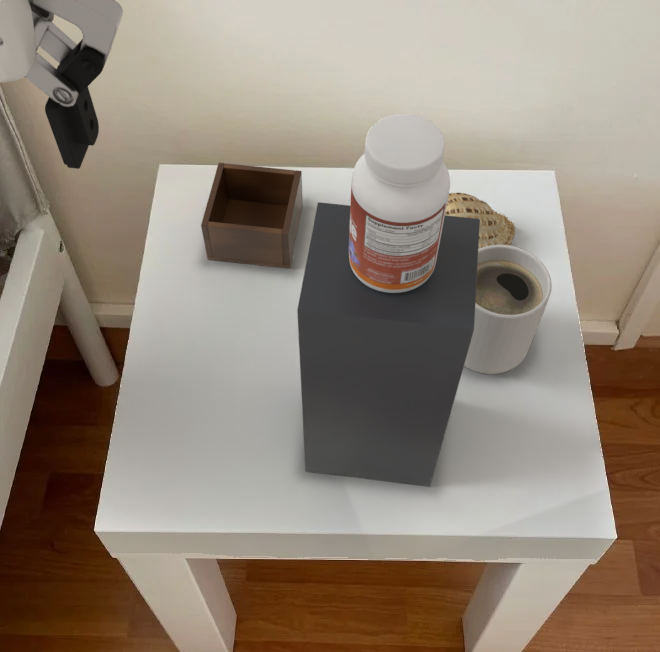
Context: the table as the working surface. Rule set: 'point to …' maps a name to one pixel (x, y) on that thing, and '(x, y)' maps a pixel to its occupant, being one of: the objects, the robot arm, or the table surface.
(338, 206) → the block
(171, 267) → the table surface
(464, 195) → the seashell
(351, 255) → the pill bottle
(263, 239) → the wooden box
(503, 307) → the mug
